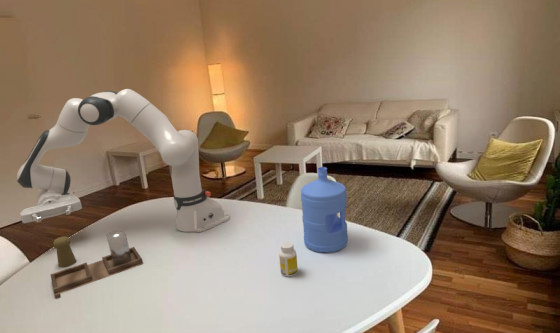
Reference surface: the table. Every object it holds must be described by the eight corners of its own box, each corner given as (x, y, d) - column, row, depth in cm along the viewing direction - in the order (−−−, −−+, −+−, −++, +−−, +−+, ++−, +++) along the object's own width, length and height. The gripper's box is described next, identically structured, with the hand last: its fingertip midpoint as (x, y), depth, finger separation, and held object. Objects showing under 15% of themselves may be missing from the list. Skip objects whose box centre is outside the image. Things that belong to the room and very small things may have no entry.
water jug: (298, 250, 135) (292, 174, 127) (311, 230, 149) (307, 160, 141) (342, 256, 129) (339, 177, 121) (352, 234, 143) (350, 162, 135)
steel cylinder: (129, 255, 139) (123, 227, 136) (133, 262, 134) (127, 233, 131) (111, 261, 136) (105, 233, 133) (115, 268, 131) (108, 239, 128)
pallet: (134, 252, 144) (133, 245, 143) (144, 266, 133) (142, 260, 132) (52, 280, 130) (50, 273, 129) (55, 298, 119) (53, 291, 119)
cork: (69, 271, 134) (61, 242, 131) (54, 270, 136) (46, 242, 132) (81, 261, 140) (74, 234, 137) (66, 261, 141) (59, 234, 138)
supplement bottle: (299, 268, 124) (297, 241, 122) (295, 278, 120) (292, 250, 117) (283, 266, 126) (281, 239, 123) (278, 276, 121) (275, 248, 118)
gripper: (17, 204, 148) (18, 216, 137) (76, 191, 158) (81, 201, 147) (22, 219, 150) (22, 232, 139) (80, 205, 160) (85, 216, 149)
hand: (53, 216), depth 143 cm, fingers open, 8 cm apart
